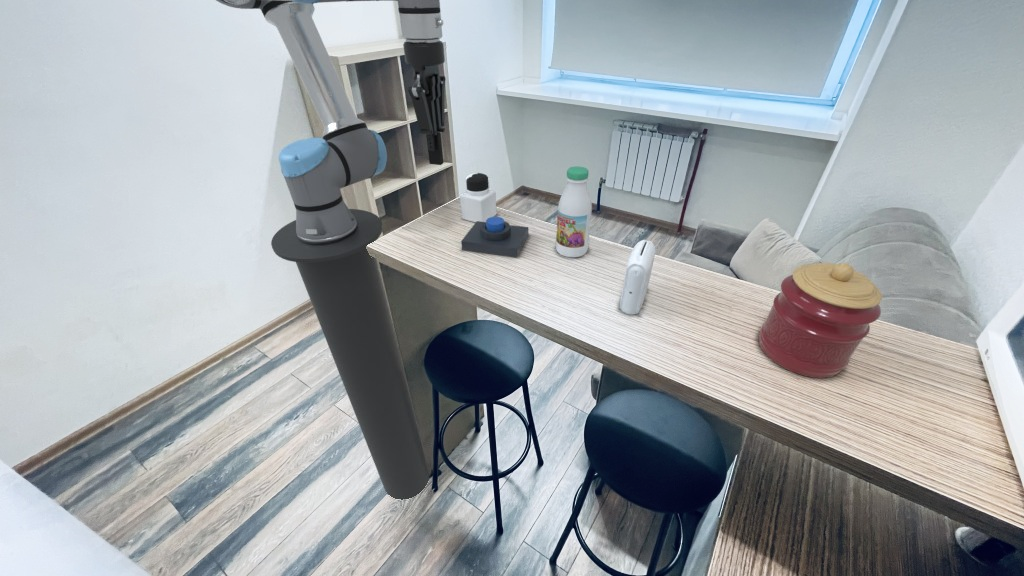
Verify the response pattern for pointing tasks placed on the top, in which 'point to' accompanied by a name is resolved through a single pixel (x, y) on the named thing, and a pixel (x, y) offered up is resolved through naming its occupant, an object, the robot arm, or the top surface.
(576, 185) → the milk bottle
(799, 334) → the kitchen canister
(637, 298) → the photo printer
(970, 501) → the top surface
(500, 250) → the button base
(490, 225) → the push top
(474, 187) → the medicine bottle
